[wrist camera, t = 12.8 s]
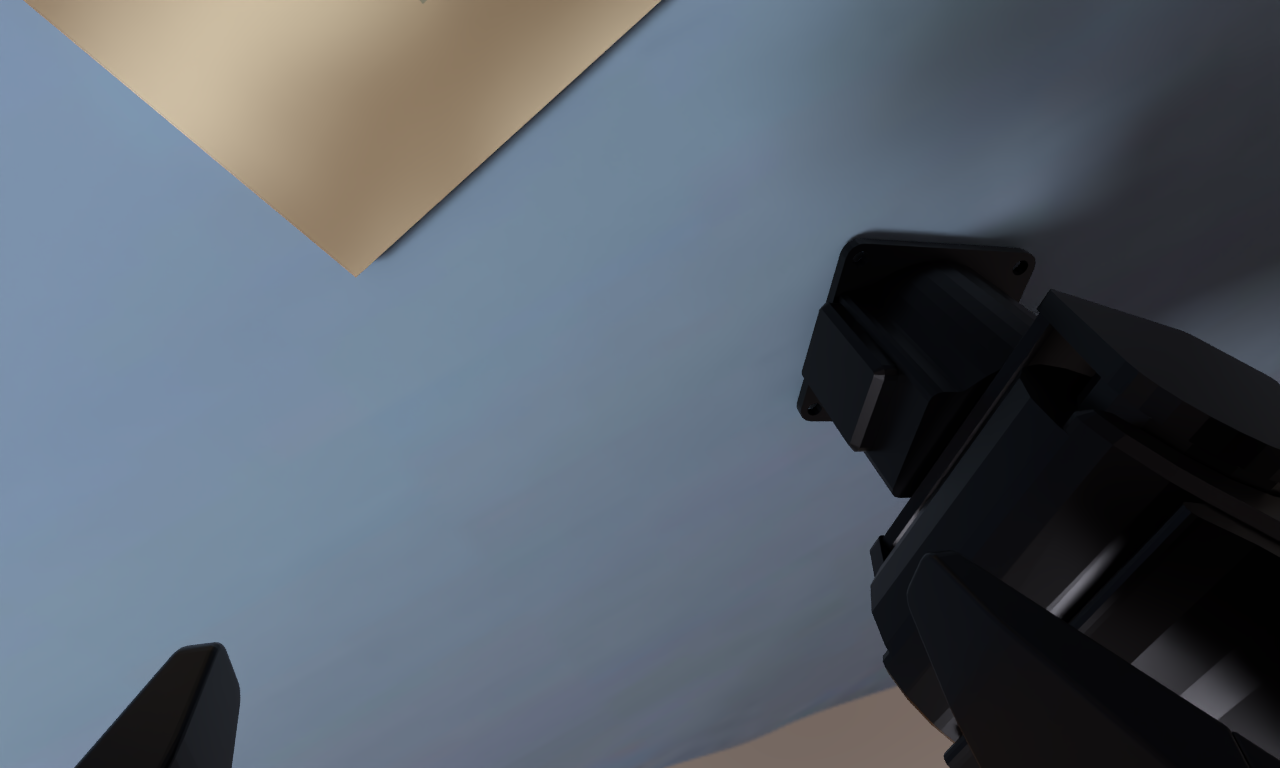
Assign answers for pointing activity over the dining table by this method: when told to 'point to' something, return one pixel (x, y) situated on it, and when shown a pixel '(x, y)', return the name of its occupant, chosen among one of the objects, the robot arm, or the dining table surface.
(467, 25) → the plate
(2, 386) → the dining table surface
